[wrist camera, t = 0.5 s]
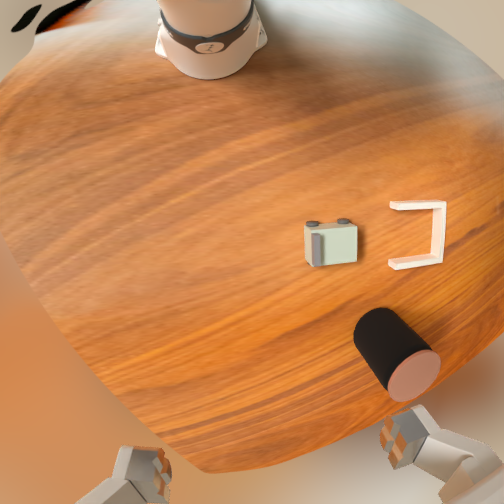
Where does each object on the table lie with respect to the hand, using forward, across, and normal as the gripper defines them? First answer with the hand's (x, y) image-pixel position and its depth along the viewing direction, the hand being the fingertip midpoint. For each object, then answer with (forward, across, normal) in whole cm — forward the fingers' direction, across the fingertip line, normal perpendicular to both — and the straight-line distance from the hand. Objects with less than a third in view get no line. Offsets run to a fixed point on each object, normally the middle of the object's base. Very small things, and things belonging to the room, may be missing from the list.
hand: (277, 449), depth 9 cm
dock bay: (+42, -34, +4) cm, 54 cm away
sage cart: (+42, -16, +4) cm, 45 cm away
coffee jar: (+42, -26, +24) cm, 55 cm away
